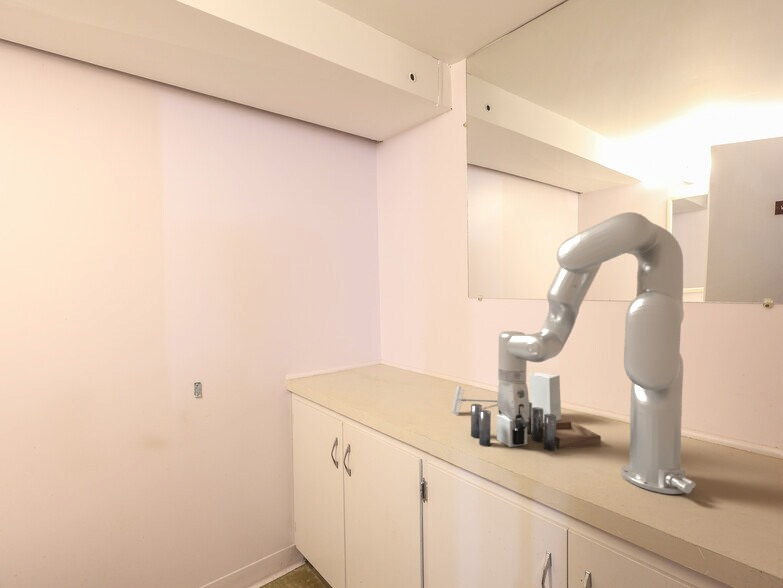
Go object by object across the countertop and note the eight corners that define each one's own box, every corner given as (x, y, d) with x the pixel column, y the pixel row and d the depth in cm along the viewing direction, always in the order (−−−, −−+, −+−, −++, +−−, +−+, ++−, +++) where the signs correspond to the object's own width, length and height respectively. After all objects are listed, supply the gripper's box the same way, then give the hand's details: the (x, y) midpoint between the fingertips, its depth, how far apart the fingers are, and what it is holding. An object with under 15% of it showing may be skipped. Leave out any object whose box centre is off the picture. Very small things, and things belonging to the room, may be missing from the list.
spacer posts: (558, 450, 104) (558, 417, 104) (491, 455, 100) (492, 421, 100) (528, 430, 118) (528, 401, 118) (469, 434, 115) (469, 404, 115)
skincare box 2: (561, 420, 128) (561, 375, 128) (550, 423, 125) (550, 377, 125) (539, 413, 135) (539, 370, 135) (528, 416, 132) (528, 372, 132)
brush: (512, 417, 146) (517, 393, 146) (458, 416, 132) (464, 389, 132) (504, 413, 150) (510, 389, 149) (450, 412, 135) (456, 386, 135)
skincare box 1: (527, 444, 108) (528, 418, 107) (509, 447, 105) (510, 420, 105) (513, 436, 113) (513, 411, 113) (495, 439, 111) (496, 413, 111)
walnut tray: (600, 445, 107) (600, 436, 107) (559, 448, 105) (559, 439, 105) (571, 429, 120) (571, 420, 120) (533, 431, 117) (534, 423, 117)
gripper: (541, 382, 101) (541, 450, 101) (509, 369, 118) (509, 427, 118) (515, 383, 100) (514, 452, 100) (486, 369, 117) (485, 429, 117)
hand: (511, 438), depth 109 cm, fingers closed on skincare box 1, 6 cm apart
